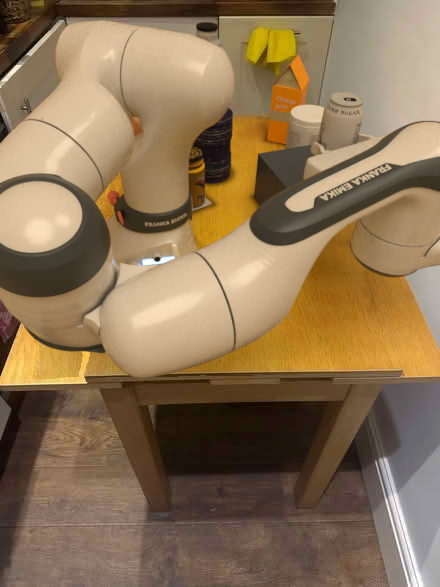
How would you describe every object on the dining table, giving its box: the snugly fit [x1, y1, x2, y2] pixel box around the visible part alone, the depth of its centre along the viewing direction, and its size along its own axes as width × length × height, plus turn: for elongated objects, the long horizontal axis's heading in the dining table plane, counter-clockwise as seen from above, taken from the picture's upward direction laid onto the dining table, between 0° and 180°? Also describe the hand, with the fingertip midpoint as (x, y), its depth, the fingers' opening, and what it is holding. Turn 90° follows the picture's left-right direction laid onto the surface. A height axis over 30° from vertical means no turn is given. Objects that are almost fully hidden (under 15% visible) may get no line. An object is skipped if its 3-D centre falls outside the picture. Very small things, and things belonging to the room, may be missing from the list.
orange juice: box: [266, 53, 310, 145], centre depth 108 cm, size 8×9×20 cm
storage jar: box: [192, 107, 234, 185], centre depth 96 cm, size 10×10×15 cm
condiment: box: [189, 147, 213, 211], centre depth 88 cm, size 7×8×12 cm
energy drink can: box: [314, 91, 365, 156], centre depth 66 cm, size 6×6×15 cm
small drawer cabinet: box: [253, 145, 314, 207], centre depth 88 cm, size 14×14×11 cm
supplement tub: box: [284, 104, 325, 149], centre depth 98 cm, size 10×10×15 cm
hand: (332, 140), depth 66 cm, fingers closed on energy drink can, 6 cm apart
